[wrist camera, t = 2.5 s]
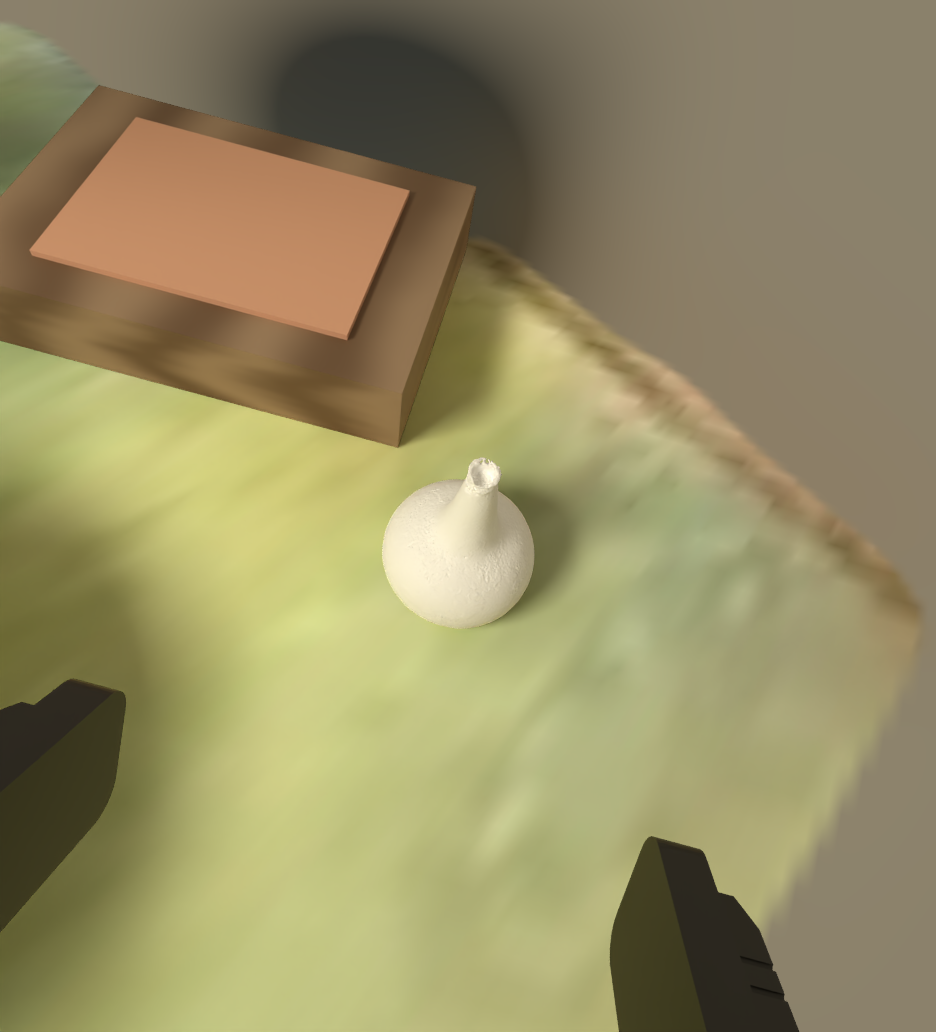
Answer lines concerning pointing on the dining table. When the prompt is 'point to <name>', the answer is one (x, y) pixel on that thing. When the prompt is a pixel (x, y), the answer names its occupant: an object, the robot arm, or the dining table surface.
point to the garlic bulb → (459, 550)
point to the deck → (222, 331)
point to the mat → (229, 227)
